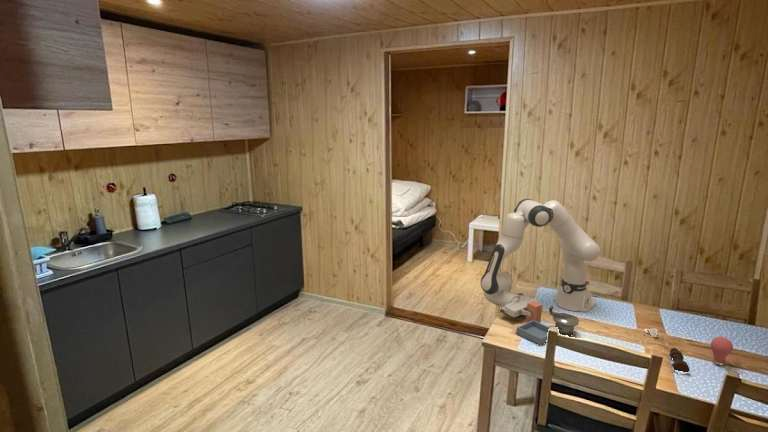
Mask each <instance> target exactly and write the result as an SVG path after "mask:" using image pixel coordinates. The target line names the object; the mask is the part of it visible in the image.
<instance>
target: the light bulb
mask: <svg viewBox="0 0 768 432" xmlns="http://www.w3.org/2000/svg"><path fill="white" fill-rule="evenodd" d="M733 345H734V344H733V343H732V341H731V340H729V339H728V338H727V337H723V336H717V337H714V338H713V339H711V341H710V347H711V350H712V353H713V355H712V356H713V361H716V362H718V363H726V359H727V357H728V356H729V355H731V354H732V352H733V350H734V346H733Z"/></svg>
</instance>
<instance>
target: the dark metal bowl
mask: <svg viewBox="0 0 768 432" xmlns="http://www.w3.org/2000/svg"><path fill="white" fill-rule="evenodd" d="M553 309H554V306H553V305H550V307H549V308H548V313H549V315H551V316H552V320H553V321H554V322H555V327H558V329H559V333H560V334H562V335H568V336H570V337H572V336H571V335H573V336H574V333H575V331H574V330H575V327H576V326H578V325H579V322H580V320H579V317H577V316H575V315H572V314H569V313H568V312H567V313H566V312H555V311H553ZM555 327H554V328H555Z"/></svg>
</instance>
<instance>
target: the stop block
mask: <svg viewBox="0 0 768 432" xmlns="http://www.w3.org/2000/svg"><path fill="white" fill-rule="evenodd" d="M538 302H539V301H538ZM538 302H535V301H532V302H529V303H527V311H528V312H529V311H530V312H532V313H533V314H532V316H527V315H525V320H524V321H525V322H524V323H527V322H529V321H532V320H534V321H537V322H539V323H541V320H542V312H543V306H544V305H543V304H542V303H540V302H539V303H538Z"/></svg>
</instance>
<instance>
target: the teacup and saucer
mask: <svg viewBox="0 0 768 432" xmlns="http://www.w3.org/2000/svg"><path fill="white" fill-rule="evenodd" d="M647 330H649V331H650V335H652V336H655V337H658V336H657V335H659V329H657V328H655V327H651V328H650V329H649V328H644V329H643V332H644V331H645V332H648V331H647ZM650 335H649V336H650Z"/></svg>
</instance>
